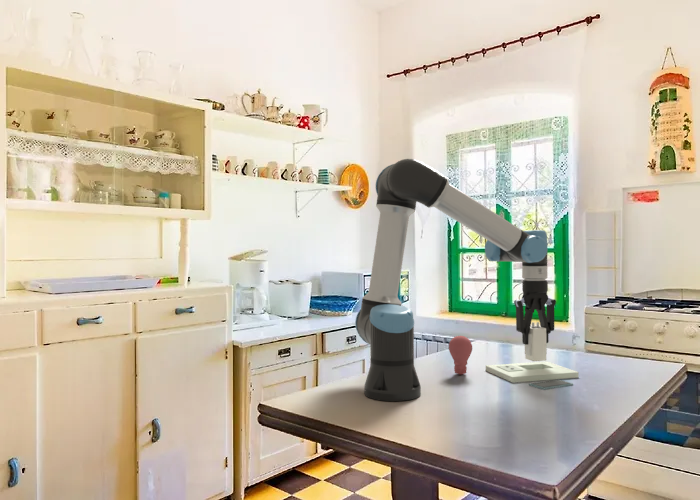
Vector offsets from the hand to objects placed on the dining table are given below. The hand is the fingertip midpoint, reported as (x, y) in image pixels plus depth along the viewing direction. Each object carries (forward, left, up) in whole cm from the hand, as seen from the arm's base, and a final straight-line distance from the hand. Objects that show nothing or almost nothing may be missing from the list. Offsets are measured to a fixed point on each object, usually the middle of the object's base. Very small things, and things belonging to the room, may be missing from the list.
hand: (535, 354), depth 172 cm
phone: (-5, -15, -6) cm, 17 cm away
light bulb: (-24, +3, -6) cm, 25 cm away
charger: (0, 0, -2) cm, 2 cm away
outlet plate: (-3, -2, -6) cm, 7 cm away
